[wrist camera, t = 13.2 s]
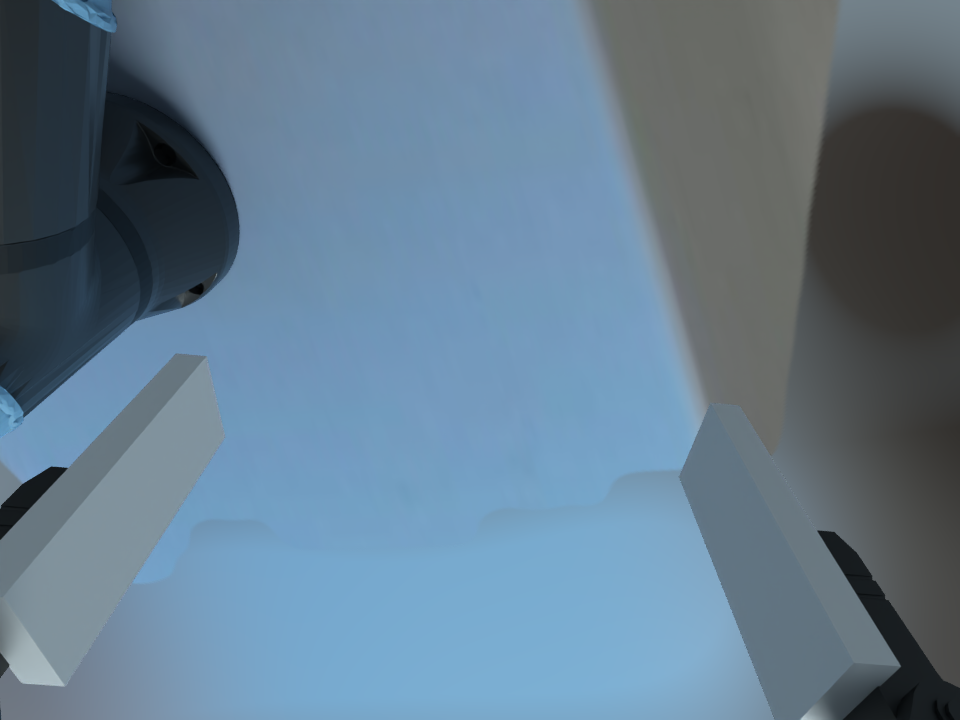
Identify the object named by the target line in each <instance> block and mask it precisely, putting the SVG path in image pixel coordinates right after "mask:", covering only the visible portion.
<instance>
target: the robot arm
mask: <svg viewBox="0 0 960 720" xmlns="http://www.w3.org/2000/svg"><path fill="white" fill-rule="evenodd" d="M116 28H117V22H116V17H115V16H114V14H113V13H112V0H0V438H1V437H2V436H4V435H5V434H7V433H9V432H12V431H14V430H15V429H16V428H17V427H18V426H20V425H21V424H22V422H23V421H24V417H25V416H26V415H27V414H29V413H30V412H31V411H32V410H33V409H34V408H35V407H37V406H38V405H39V404H40V403H41V402H42V401H44V400H45V399H46V398H47V397H48V396H49V395H51V394H52V393H53V392H54V391H55V390H56V389H57V388H59V387H60V386H61V385H62V384H63V383H64V382H66V381H67V380H68V379H69V378H70V377H71V376H73V375H74V374H75V373H76V372H77V371H78V370H79V369H81V368H82V367H83V366H84V365H85V364H86V363H88V362H89V361H90V360H91V359H92V358H93V357H95V356H96V355H97V354H98V353H99V352H100V351H101V350H103V349H104V348H105V347H106V346H107V345H108V344H110V343H111V342H112V341H113V340H114V339H115V338H117V337H118V336H119V335H120V334H121V333H122V332H123V331H124V330H125V329H127V328H128V327H129V326H130V325H131V324H133V323H134V322H135V321H138V320H141V319H145V318H148V317H152V316H155V315H159V314H162V313H166V312H169V311H173V310H176V309H180V308H183V307H185V306H188V305H190V304H192V303H194V302H196V301H197V300H199V299H201V298H202V297H204V296H205V295H206V294H207V293H208V292H209V291H211V290H212V289H213V288H214V287H215V286H216V285H217V284H218V283H219V282H220V281H221V280H222V279H223V278H224V277H225V275H226V274H227V273H228V271H229V270H230V268H231V266H232V264H233V262H234V259H235V257H236V253H237V249H238V244H239V221H238V215H237V210H236V206H235V202H234V199H233V197H232V194H231V191H230V189H229V187H228V185H227V183H226V181H225V179H224V177H223V175H222V173H221V172H220V170H219V168H218V167H217V165H216V164H215V162H214V161H213V160H212V158H211V157H210V156H209V154H208V153H207V152H206V151H205V150H204V148H203V147H202V146H201V145H200V144H199V143H198V142H197V141H196V140H195V139H194V138H193V137H192V136H191V135H190V134H189V133H188V132H187V131H186V130H184V129H183V128H182V127H181V126H180V125H178V124H177V123H176V122H174V121H173V120H172V119H170V118H169V117H167V116H166V115H164V114H162V113H161V112H159V111H157V110H156V109H154V108H152V107H150V106H148V105H146V104H144V103H141V102H139V101H137V100H134V99H131V98H128V97H125V96H122V95H118V94H113V93H107V92H106V86H107V74H108V63H109V52H110V41H111V32H114V33H115V32H116ZM224 438H225V434H224V430H223V426H222V421H221V417H220V413H219V408H218V404H217V399H216V395H215V391H214V386H213V382H212V378H211V373H210V369H209V365H208V360H207V356H197V355H186V354H175V355H174V356H173V358H172V359H171V360H170V361H169V362H168V363H167V364H166V365H165V366H164V367H163V368H162V369H161V370H160V371H159V372H158V373H157V375H156V376H155V377H154V378H153V379H152V380H151V381H150V382H149V383H148V384H147V385H146V386H145V387H144V388H143V389H142V390H141V391H140V393H139V394H138V395H137V396H136V397H135V398H134V399H133V400H132V401H131V402H130V403H129V404H128V405H127V406H126V407H125V408H124V410H123V411H122V412H121V413H120V414H119V415H118V416H117V417H116V418H115V419H114V420H113V421H112V422H111V423H110V424H109V425H108V426H107V428H106V429H105V430H104V431H103V432H102V433H101V434H100V435H99V436H98V437H97V438H96V439H95V440H94V441H93V442H92V443H91V444H90V446H89V447H88V448H87V449H86V450H85V451H84V452H83V453H82V454H81V455H80V456H79V457H78V458H77V459H76V460H75V461H74V463H73V464H72V465H71V466H70V467H69V468H62V467H50V468H48V469H46V470H45V471H43V472H42V473H40V474H38V475H37V476H35V477H33V478H32V479H30V480H28V481H27V482H25V483H24V484H22V485H21V486H20V487H19V488H18V489H17V490H16V491H15V492H14V493H13V494H12V495H11V496H10V497H9V498H8V499H7V500H6V501H5V502H4V503H3V504H2V505H1V509H0V678H1V676H2V675H3V674H4V672H5V671H6V670H7V668H8V667H9V668H10V669H11V670H12V671H13V673H14V674H15V675H16V677H17V678H18V679H19V680H20V682H21V683H27V684H40V685H53V686H66V685H67V683H68V682H69V680H70V678H71V677H72V675H73V673H74V672H75V670H76V669H77V667H78V666H79V664H80V663H81V661H82V660H83V658H84V657H85V655H86V653H87V652H88V650H89V649H90V647H91V646H92V644H93V643H94V641H95V639H96V638H97V636H98V635H99V633H100V632H101V630H102V629H103V627H104V625H105V624H106V622H107V621H108V619H109V618H110V616H111V614H112V613H113V611H114V610H115V608H116V607H117V605H118V604H119V602H120V600H121V599H122V597H123V596H124V594H125V592H126V591H127V589H128V588H129V586H130V585H131V583H132V582H133V580H134V579H135V577H136V575H137V574H138V572H139V571H140V569H141V568H142V566H143V565H144V563H145V561H146V560H147V558H148V557H149V555H150V554H151V552H152V551H153V549H154V547H155V546H156V544H157V543H158V541H159V540H160V538H161V536H162V535H163V533H164V532H165V530H166V529H167V527H168V526H169V524H170V522H171V521H172V519H173V518H174V516H175V515H176V513H177V512H178V510H179V508H180V507H181V505H182V504H183V502H184V501H185V499H186V497H187V496H188V494H189V493H190V491H191V490H192V488H193V487H194V485H195V483H196V482H197V480H198V479H199V477H200V476H201V474H202V473H203V471H204V469H205V468H206V466H207V465H208V463H209V462H210V460H211V458H212V457H213V455H214V454H215V452H216V451H217V449H218V448H219V446H220V444H221V443H222V441H223V440H224ZM679 478H680V481H681V483H682V486H683V488H684V490H685V493H686V496H687V498H688V501H689V503H690V506H691V509H692V511H693V513H694V516H695V519H696V521H697V524H698V526H699V529H700V531H701V534H702V537H703V539H704V542H705V544H706V547H707V549H708V552H709V554H710V557H711V559H712V562H713V564H714V567H715V569H716V572H717V575H718V577H719V580H720V582H721V585H722V587H723V590H724V592H725V595H726V597H727V600H728V602H729V605H730V607H731V610H732V613H733V615H734V617H735V620H736V623H737V625H738V628H739V630H740V633H741V635H742V638H743V641H744V643H745V645H746V648H747V650H748V653H749V656H750V658H751V660H752V663H753V666H754V668H755V671H756V673H757V676H758V679H759V681H760V684H761V686H762V689H763V691H764V694H765V696H766V698H767V701H768V704H769V706H770V709H771V711H772V714H773V717H774V719H775V720H960V688H958V687H956V686H954V685H952V684H950V683H948V682H945V681H943V680H942V679H941V677H940V676H939V675H938V673H937V672H936V671H935V669H934V668H933V666H932V665H931V663H930V662H929V660H928V659H927V657H926V656H925V654H924V653H923V651H922V650H921V648H920V647H919V645H918V644H917V642H916V641H915V639H914V638H913V636H912V635H911V633H910V632H909V630H908V629H907V627H906V626H905V624H904V623H903V621H902V620H901V618H900V617H899V615H898V614H897V612H896V611H895V609H894V608H893V607H892V605H891V603H890V602H889V601H888V600H886V599H885V594H884V593H883V591H882V590H881V588H880V587H879V586H878V584H877V582H876V581H873V580H872V575H871V573H870V572H869V570H868V569H867V567H866V566H865V564H864V563H863V561H862V560H861V558H860V557H859V555H858V554H857V553H856V552H855V551H854V550H853V549H852V548H851V547H850V546H849V545H847V543H845V542H844V541H843V540H842V539H841V538H840V537H839V536H838V535H837V534H836V533H835V532H829V531H817V530H816V528H815V527H814V525H813V524H812V522H811V520H810V519H809V517H808V516H807V514H806V512H805V511H804V509H803V508H802V506H801V504H800V503H799V501H798V500H797V498H796V496H795V495H794V493H793V491H792V490H791V488H790V487H789V485H788V483H787V482H786V480H785V478H784V477H783V475H782V474H781V472H780V471H779V469H778V467H777V466H776V464H775V462H774V461H773V459H772V458H771V456H770V454H769V453H768V451H767V449H766V448H765V446H764V445H763V443H762V441H761V440H760V438H759V437H758V435H757V433H756V432H755V430H754V428H753V427H752V425H751V424H750V422H749V420H748V419H747V417H746V416H745V414H744V412H743V411H742V409H741V408H740V406H739V405H729V404H718V403H710V406H709V408H708V410H707V413H706V415H705V417H704V420H703V422H702V424H701V427H700V429H699V431H698V434H697V436H696V438H695V441H694V443H693V445H692V448H691V450H690V452H689V455H688V457H687V459H686V462H685V464H684V466H683V469H682V471H681V474H680V476H679ZM0 720H1V710H0Z"/></svg>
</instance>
